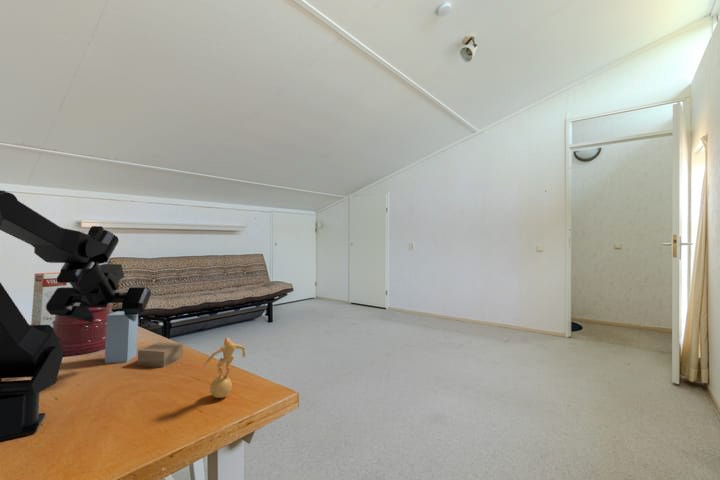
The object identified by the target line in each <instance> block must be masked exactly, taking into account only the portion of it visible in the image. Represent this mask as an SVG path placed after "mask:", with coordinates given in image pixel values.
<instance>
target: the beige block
mask: <svg viewBox="0 0 720 480" xmlns="http://www.w3.org/2000/svg"><path fill="white" fill-rule="evenodd" d="M183 354H184V343H179V342H177V343H176V342H160V341H159V342H156V343H153V344H152V345H148V346H146V347H143V348H140V349H137V366H139V367H151V368H152V367H153V368H165V367H167V366H169V365H172V364H173V363H176V362H178V361H180V360H181V359H183V358H184V356H183Z"/></svg>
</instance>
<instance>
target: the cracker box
mask: <svg viewBox="0 0 720 480" xmlns="http://www.w3.org/2000/svg"><path fill="white" fill-rule="evenodd" d="M59 274H60V272H42V273H41V272H40V273H39V272H38V273H34V277H33V279H34V280H33V282H34V283H33V292H32V293H33V294H32V308H31V324H30V325H50V326H51V327H52V328H53V324H52V322H53V321H54V320H55V315H51V314H50V313H49V312H48V311H47V310H46V304H47V302H48V301H49V299H50V298H51V296H52V295H53V293H54V292H55V290H56V289H57V288H61V287H72V285H71V284H70V283H57V277H58V275H59Z"/></svg>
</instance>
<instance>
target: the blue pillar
mask: <svg viewBox="0 0 720 480" xmlns="http://www.w3.org/2000/svg"><path fill="white" fill-rule="evenodd" d="M110 313H111V312H110ZM138 324H139V314H137V317H136V320H135V321H132V320H130V319H129V318H128V317H127V316H125V315H124V311H123V310H121V311H120V310H119V311H118V310H117V311H114V312H112V313H111V314H109V315H107V323H106V345H105V348H104V364H117V363H118V364H119V363H129V362H130V361H132V359H134V358H135V357H137V355H138V349H137V348H138V328H139V326H138Z"/></svg>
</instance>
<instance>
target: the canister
mask: <svg viewBox="0 0 720 480" xmlns="http://www.w3.org/2000/svg"><path fill="white" fill-rule="evenodd" d="M113 306H114V304H113V303H108V305H107V307H96V308H89V310H90V311H91V313H92V315H93V317H94V320H93V322H87V321H83V320H79V319H74V318H69V317H65V316H58V315H55V320H54V321H53V322H52V324H53V329H54V332H55V334H56V336H57V337H59V338H61V340H60V341H59V343H60V345H61V348H62V350H63V356H75V355H82V354H83V355H84V354H89V353H94V352H98V351H101V350H105V345H106V323H107V315H109V314H111V309H112V308H113Z"/></svg>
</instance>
